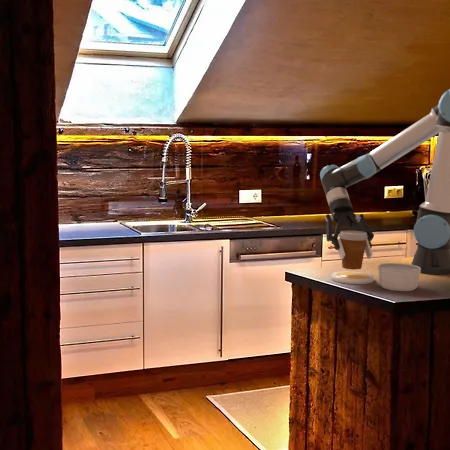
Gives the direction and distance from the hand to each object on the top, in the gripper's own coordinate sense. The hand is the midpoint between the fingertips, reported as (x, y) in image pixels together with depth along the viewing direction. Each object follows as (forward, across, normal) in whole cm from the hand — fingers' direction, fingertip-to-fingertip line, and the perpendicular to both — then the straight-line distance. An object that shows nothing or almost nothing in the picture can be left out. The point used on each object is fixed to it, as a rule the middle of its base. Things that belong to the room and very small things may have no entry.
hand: (356, 256), depth 230 cm
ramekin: (+13, -10, +1) cm, 17 cm away
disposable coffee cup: (+1, 0, -6) cm, 6 cm away
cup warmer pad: (+4, 0, -8) cm, 9 cm away
